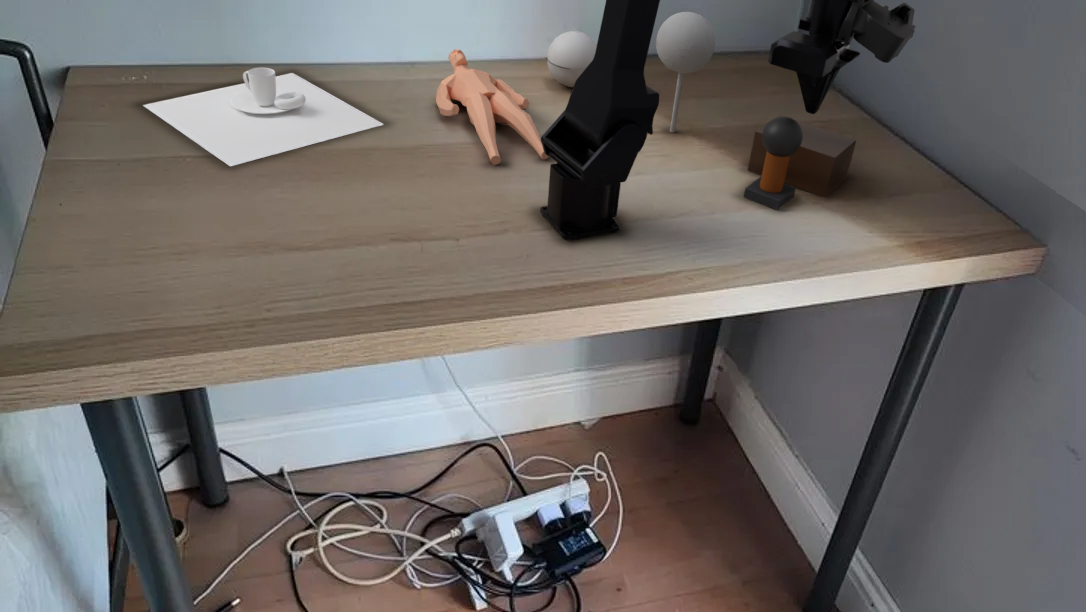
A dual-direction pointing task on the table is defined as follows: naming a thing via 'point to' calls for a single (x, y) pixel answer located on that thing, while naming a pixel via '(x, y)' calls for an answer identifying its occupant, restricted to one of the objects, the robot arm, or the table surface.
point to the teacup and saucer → (261, 116)
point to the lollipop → (684, 48)
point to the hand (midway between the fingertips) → (811, 112)
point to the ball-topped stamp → (776, 163)
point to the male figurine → (486, 105)
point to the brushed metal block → (811, 159)
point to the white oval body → (570, 56)
